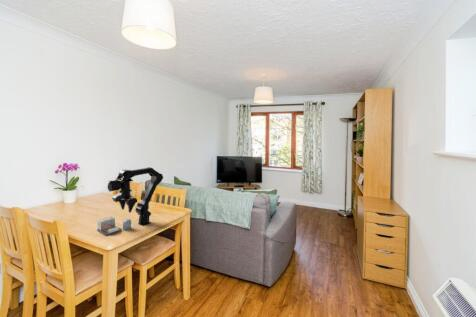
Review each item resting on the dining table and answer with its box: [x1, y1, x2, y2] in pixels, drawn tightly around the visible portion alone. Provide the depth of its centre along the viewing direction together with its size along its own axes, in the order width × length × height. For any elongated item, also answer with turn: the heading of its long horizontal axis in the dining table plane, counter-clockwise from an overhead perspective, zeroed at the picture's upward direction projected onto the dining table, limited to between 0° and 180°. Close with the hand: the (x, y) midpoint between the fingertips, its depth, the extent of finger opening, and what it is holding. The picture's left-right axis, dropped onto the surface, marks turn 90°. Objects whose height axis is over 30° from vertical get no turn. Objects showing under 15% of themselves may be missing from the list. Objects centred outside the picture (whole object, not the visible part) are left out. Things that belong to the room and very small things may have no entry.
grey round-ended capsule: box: [122, 218, 132, 231], centre depth 158 cm, size 5×5×6 cm
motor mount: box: [96, 216, 123, 237], centre depth 154 cm, size 10×13×7 cm
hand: (126, 210), depth 157 cm, fingers open, 9 cm apart
